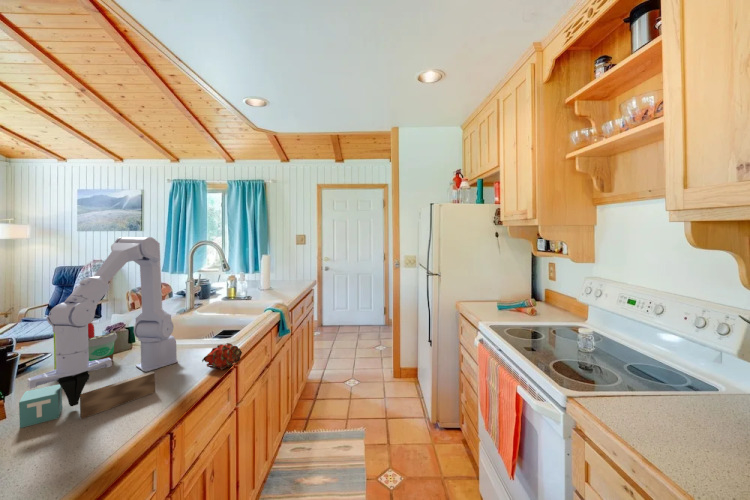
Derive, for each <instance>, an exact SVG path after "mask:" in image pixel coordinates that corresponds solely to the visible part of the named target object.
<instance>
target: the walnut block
mask: <svg viewBox="0 0 750 500" xmlns="http://www.w3.org/2000/svg"><path fill="white" fill-rule="evenodd" d="M154 393H156V372H154V371H153V370H151V371H148V372H145V373H144V374H140V375H137V376H134V377H130V378H126V379H124V380H122V381H118V382H114V383H112V384H109V385H106V386H102V387H99V388H96V389H94V390H89V391H86V392H83V393H81V394H80V398H79V415H80V418H81V419H82V420H83V419H85V418H89V417H92V416H94V415H97V414H99V413H102V412H105V411H107V410H109V409H110V410H111V409H113V408H115V407H116V408H117V407H118V406H121V405H123V404H126V403H130V402H132V401H136V400H137V399H140V398H143V397H145V396H148V395H151V394H154Z"/></svg>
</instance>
